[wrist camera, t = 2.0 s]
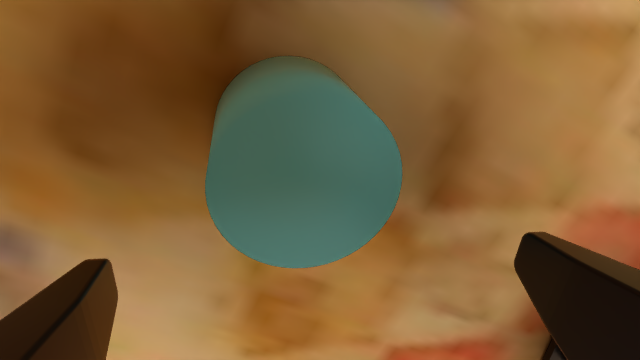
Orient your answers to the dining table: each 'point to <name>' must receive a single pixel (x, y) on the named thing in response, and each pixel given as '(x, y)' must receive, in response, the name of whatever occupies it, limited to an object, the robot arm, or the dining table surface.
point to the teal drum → (299, 165)
